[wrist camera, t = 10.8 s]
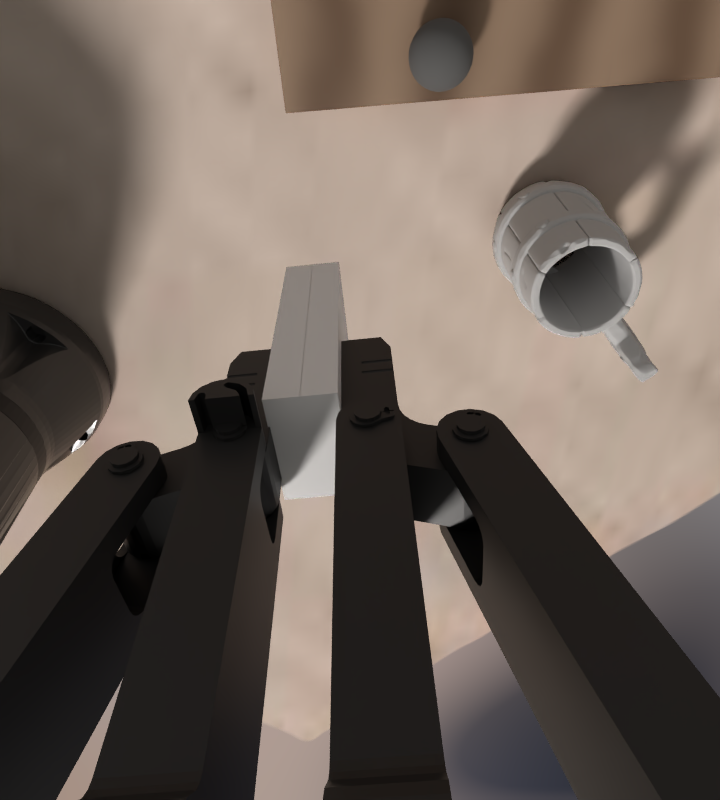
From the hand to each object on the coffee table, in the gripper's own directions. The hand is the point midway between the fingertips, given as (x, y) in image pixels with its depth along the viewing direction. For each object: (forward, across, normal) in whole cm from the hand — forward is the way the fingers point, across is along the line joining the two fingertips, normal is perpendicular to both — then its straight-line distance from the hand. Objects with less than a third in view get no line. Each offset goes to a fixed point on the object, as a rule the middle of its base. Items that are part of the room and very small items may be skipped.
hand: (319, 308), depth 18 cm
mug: (+26, +15, -10) cm, 32 cm away
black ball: (+21, +6, +4) cm, 23 cm away
